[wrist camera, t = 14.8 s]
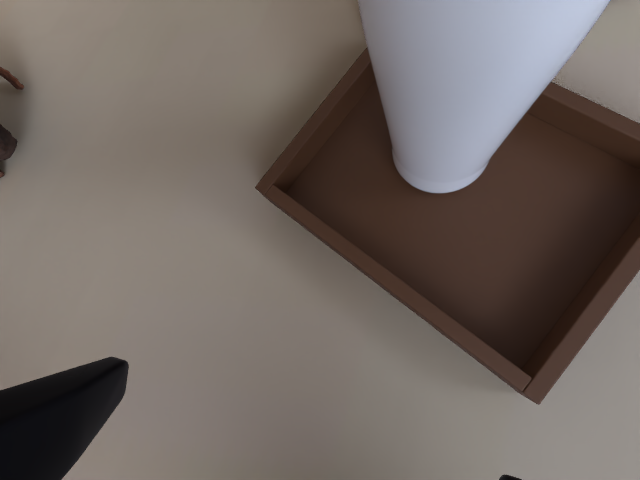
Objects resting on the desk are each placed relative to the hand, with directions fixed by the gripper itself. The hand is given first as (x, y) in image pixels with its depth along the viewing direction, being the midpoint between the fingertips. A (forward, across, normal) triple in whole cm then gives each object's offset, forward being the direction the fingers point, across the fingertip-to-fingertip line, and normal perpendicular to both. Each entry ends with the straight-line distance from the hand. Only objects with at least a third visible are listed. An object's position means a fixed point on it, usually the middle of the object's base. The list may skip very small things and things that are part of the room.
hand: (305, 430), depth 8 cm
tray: (+15, -5, -6) cm, 16 cm away
